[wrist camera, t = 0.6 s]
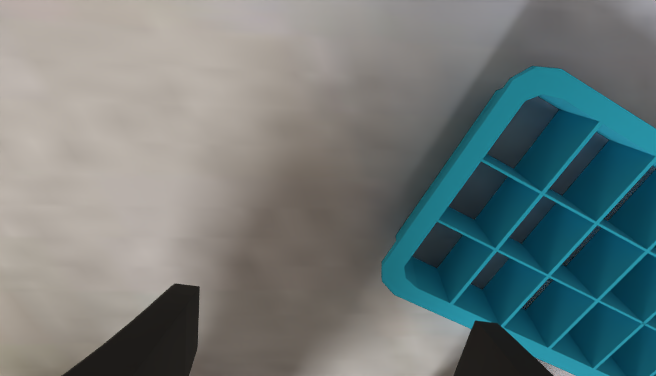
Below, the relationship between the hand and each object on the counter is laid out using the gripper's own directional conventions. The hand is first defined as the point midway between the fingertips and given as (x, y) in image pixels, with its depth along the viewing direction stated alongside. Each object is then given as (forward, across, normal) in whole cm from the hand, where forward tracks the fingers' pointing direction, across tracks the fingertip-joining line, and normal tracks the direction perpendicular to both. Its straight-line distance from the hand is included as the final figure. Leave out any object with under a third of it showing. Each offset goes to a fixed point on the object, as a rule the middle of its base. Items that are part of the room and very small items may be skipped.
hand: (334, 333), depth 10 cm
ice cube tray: (+10, -14, +1) cm, 17 cm away
